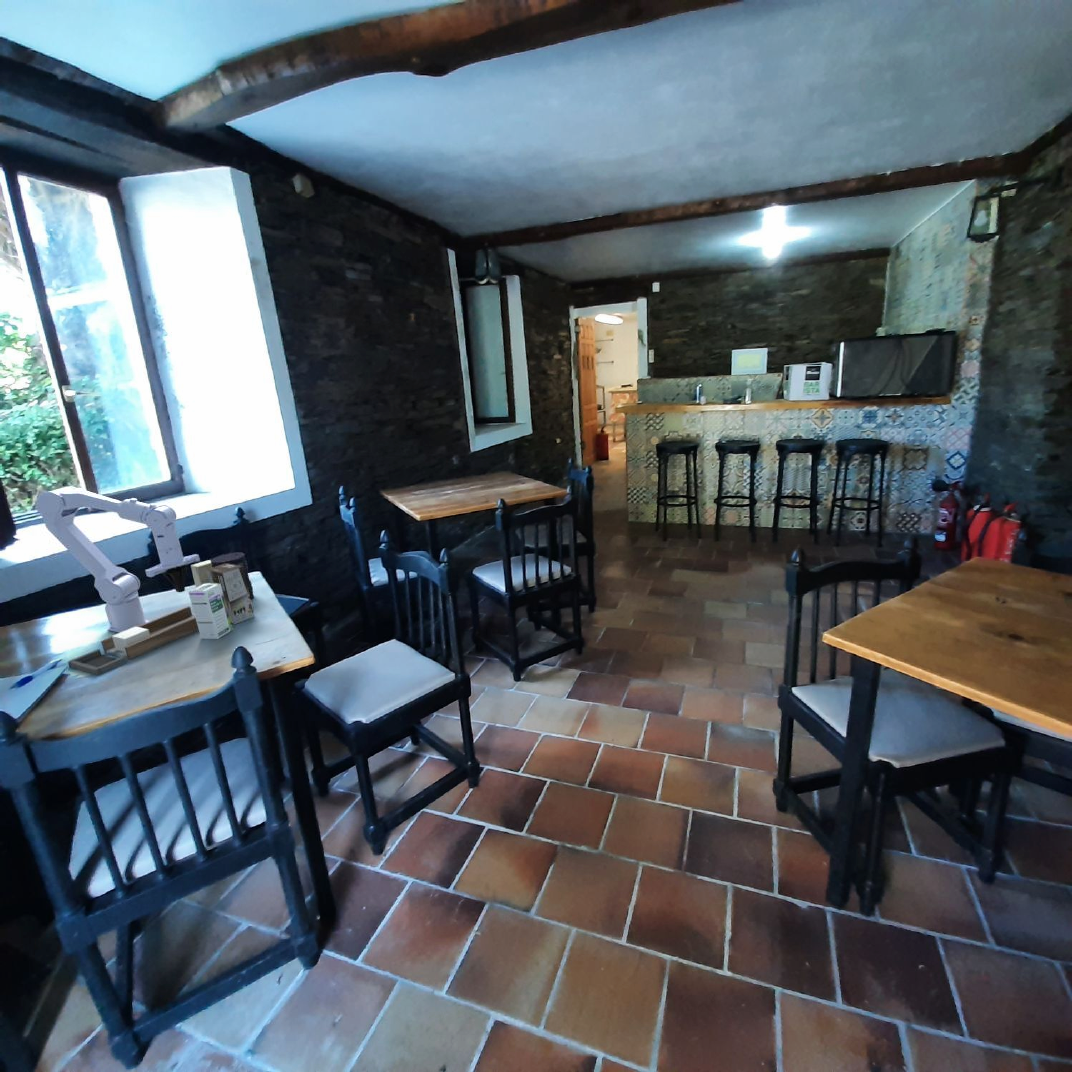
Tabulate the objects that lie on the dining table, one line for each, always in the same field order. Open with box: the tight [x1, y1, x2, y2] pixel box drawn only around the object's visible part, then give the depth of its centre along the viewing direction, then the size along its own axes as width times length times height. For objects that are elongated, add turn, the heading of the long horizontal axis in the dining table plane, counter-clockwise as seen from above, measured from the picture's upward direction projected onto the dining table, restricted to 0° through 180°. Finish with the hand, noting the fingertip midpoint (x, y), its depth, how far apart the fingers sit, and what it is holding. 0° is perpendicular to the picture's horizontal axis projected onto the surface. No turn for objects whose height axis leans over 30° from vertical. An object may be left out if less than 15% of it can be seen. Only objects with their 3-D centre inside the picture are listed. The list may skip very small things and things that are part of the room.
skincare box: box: [190, 559, 212, 588], centre depth 182 cm, size 6×4×12 cm
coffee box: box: [207, 563, 255, 625], centre depth 163 cm, size 9×6×16 cm
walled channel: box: [100, 605, 199, 661], centre depth 156 cm, size 12×24×4 cm, turn 154°
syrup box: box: [187, 583, 234, 640], centre depth 153 cm, size 6×6×14 cm
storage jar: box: [210, 551, 255, 601], centre depth 178 cm, size 10×10×15 cm
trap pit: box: [67, 648, 128, 676], centre depth 142 cm, size 13×7×2 cm, turn 64°
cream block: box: [111, 627, 150, 652], centre depth 149 cm, size 6×6×4 cm
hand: (180, 591), depth 164 cm, fingers closed
